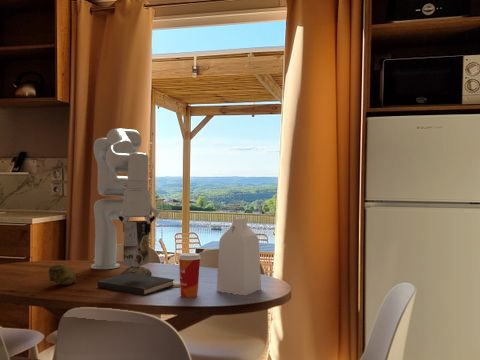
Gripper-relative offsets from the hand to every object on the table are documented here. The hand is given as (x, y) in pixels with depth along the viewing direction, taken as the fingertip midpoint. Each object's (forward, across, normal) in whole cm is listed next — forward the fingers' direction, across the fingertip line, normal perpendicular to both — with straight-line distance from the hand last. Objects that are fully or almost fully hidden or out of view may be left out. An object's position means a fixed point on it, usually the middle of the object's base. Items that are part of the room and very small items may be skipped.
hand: (136, 233), depth 156 cm
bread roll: (+20, -5, +19) cm, 28 cm away
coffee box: (+11, 0, 0) cm, 11 cm away
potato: (+20, -28, +3) cm, 34 cm away
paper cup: (+20, +21, -12) cm, 31 cm away
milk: (+20, +38, -3) cm, 43 cm away
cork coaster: (+20, +14, +4) cm, 24 cm away
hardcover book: (+19, 0, 0) cm, 19 cm away
